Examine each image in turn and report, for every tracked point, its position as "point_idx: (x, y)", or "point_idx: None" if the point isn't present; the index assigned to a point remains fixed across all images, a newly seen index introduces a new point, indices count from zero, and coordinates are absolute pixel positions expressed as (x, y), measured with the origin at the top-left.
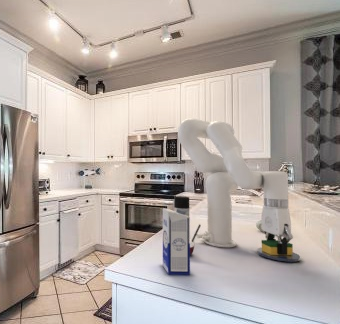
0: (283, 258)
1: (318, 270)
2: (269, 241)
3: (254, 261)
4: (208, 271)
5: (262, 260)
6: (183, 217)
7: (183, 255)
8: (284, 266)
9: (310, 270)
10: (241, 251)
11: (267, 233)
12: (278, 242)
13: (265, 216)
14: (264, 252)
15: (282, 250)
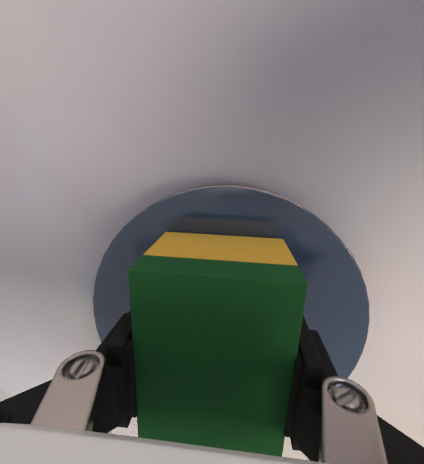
0: (100, 272)
1: (26, 351)
2: (235, 333)
3: (117, 49)
4: None
5: (147, 139)
6: None
7: None
8: (50, 216)
9: (17, 314)
10: (378, 92)
11: (344, 458)
12: (195, 397)
13: None
14: (233, 227)
15: (118, 324)
